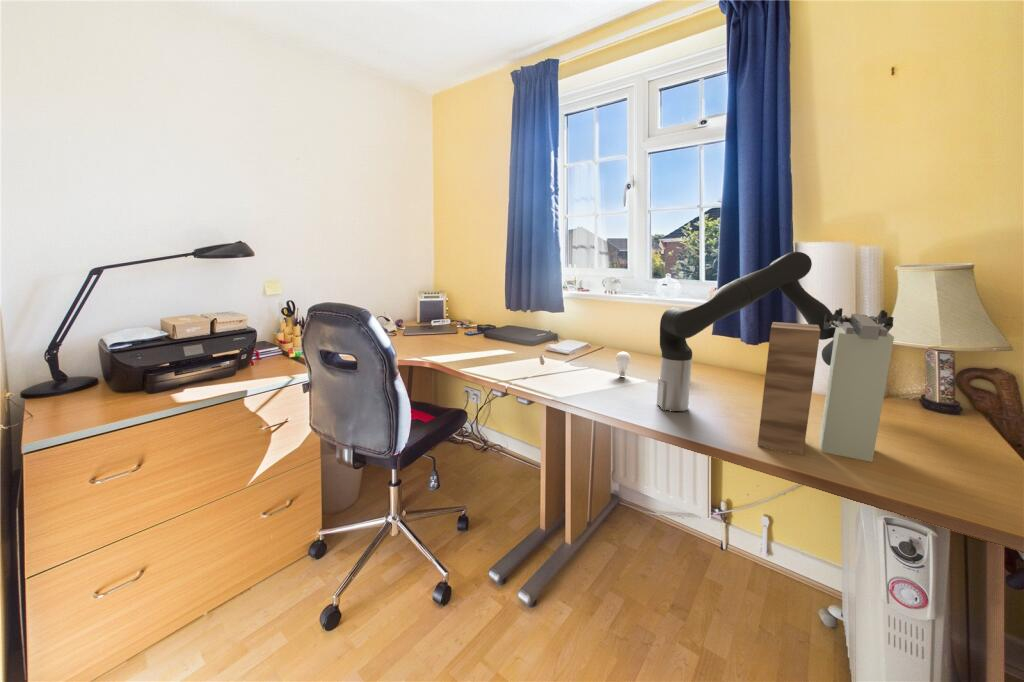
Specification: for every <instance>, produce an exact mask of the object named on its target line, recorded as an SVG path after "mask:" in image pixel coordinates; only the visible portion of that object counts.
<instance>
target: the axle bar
mask: <svg viewBox="0 0 1024 682" xmlns="http://www.w3.org/2000/svg"><path fill="white" fill-rule="evenodd" d="M850 315H851V316H850V317H851V321H850V324H851V326H852V327H853V330H854V331H855V332H856V333H857V335H858V336H859V337H860V338H861V339H871V340H878V337H879V331H880V326H879V325H878V324H876V323H875V322H874V321H873V320H872V319H871V318H869V317H870V316H868V315H867V314H859V313H856V314H855V313H851V314H850Z"/></svg>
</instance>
